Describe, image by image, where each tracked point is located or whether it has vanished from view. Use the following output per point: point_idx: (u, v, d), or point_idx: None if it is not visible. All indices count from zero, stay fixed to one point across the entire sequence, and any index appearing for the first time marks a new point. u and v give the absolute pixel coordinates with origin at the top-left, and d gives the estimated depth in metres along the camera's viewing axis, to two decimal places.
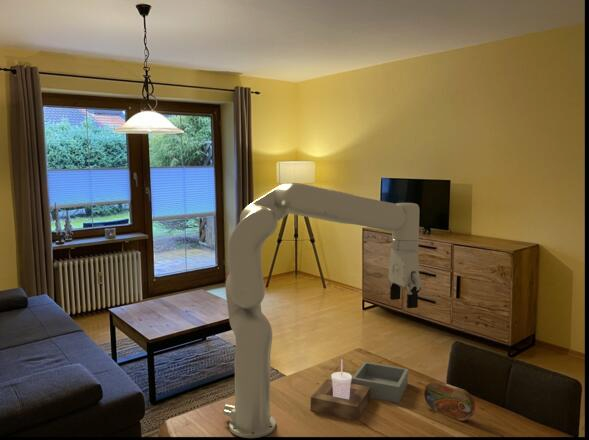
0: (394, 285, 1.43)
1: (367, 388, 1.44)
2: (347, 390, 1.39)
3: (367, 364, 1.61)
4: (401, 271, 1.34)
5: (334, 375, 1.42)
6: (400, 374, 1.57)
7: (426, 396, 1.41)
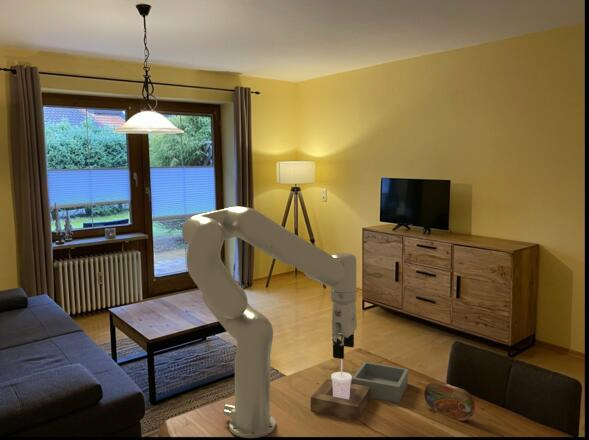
0: None
1: (367, 388, 1.44)
2: (347, 390, 1.39)
3: (367, 364, 1.61)
4: (355, 316, 1.42)
5: (334, 375, 1.42)
6: (400, 374, 1.57)
7: (426, 396, 1.41)
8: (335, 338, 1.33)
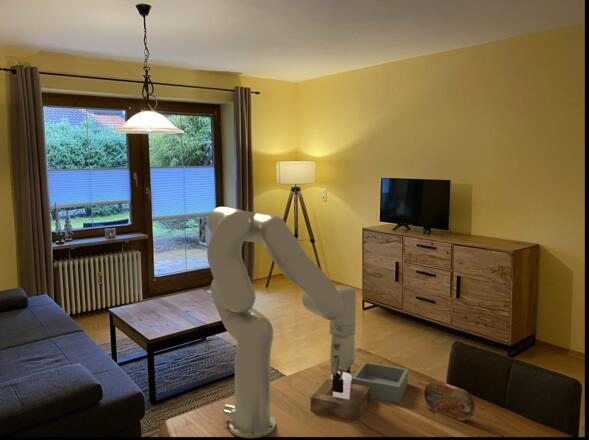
0: None
1: (367, 388, 1.44)
2: (347, 390, 1.39)
3: (367, 364, 1.61)
4: (353, 349, 1.42)
5: None
6: (400, 374, 1.57)
7: (426, 396, 1.41)
8: (335, 374, 1.34)
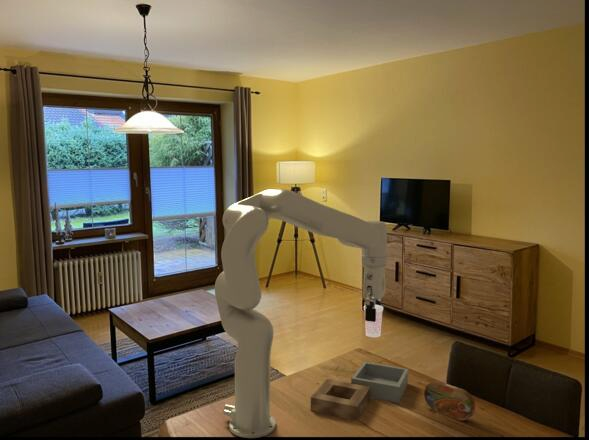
0: None
1: (367, 388, 1.44)
2: (379, 319, 1.46)
3: (367, 364, 1.61)
4: (384, 281, 1.49)
5: None
6: (400, 374, 1.57)
7: (426, 396, 1.41)
8: (368, 303, 1.41)
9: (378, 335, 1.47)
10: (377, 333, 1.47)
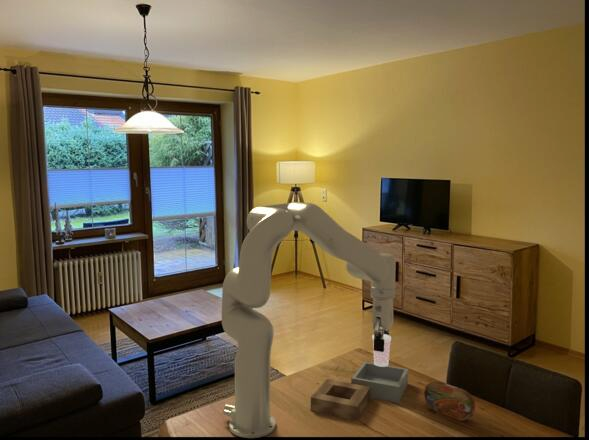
0: None
1: (367, 388, 1.44)
2: (387, 349, 1.50)
3: (367, 364, 1.61)
4: (392, 312, 1.53)
5: None
6: (400, 374, 1.57)
7: (426, 396, 1.41)
8: (377, 334, 1.45)
9: (386, 364, 1.51)
10: (385, 362, 1.50)
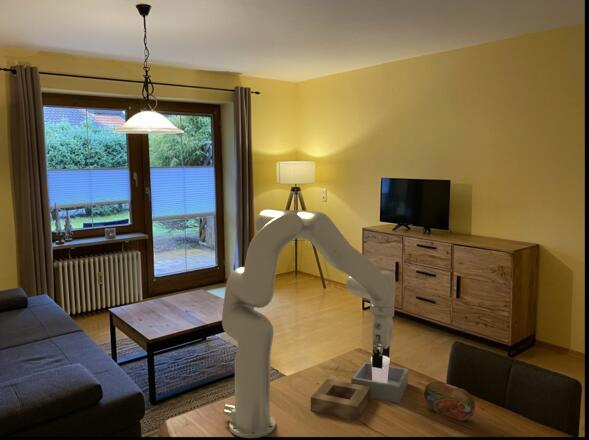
0: None
1: (367, 388, 1.44)
2: (385, 371, 1.50)
3: (367, 364, 1.61)
4: (392, 329, 1.53)
5: None
6: (400, 374, 1.57)
7: (426, 396, 1.41)
8: (375, 349, 1.44)
9: None
10: None
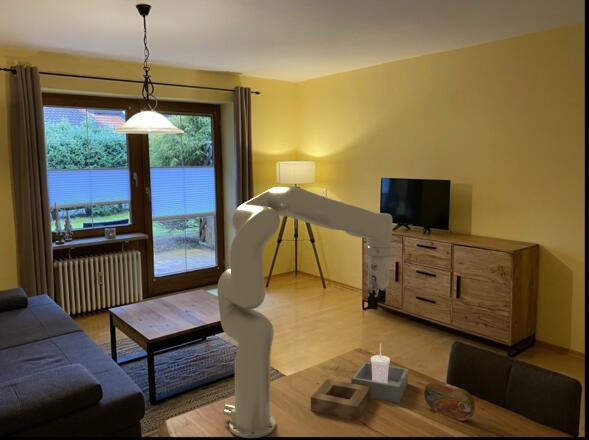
0: None
1: (367, 388, 1.44)
2: (386, 371, 1.50)
3: (367, 364, 1.61)
4: (388, 273, 1.52)
5: (373, 358, 1.53)
6: (400, 374, 1.57)
7: (426, 396, 1.41)
8: (371, 289, 1.43)
9: None
10: None
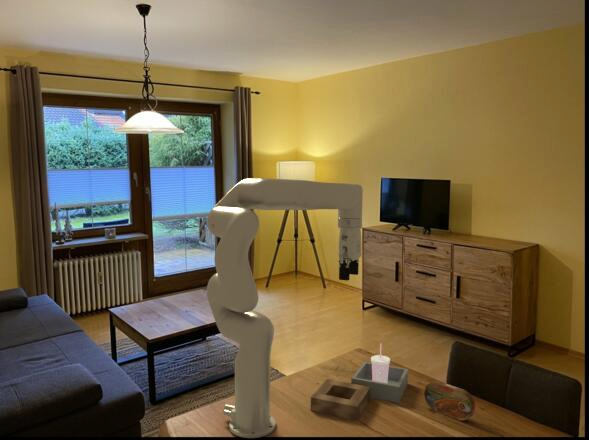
0: None
1: (367, 388, 1.44)
2: (386, 371, 1.50)
3: (367, 364, 1.61)
4: (360, 244, 1.51)
5: (373, 358, 1.53)
6: (400, 374, 1.57)
7: (426, 396, 1.41)
8: (342, 259, 1.42)
9: None
10: None
